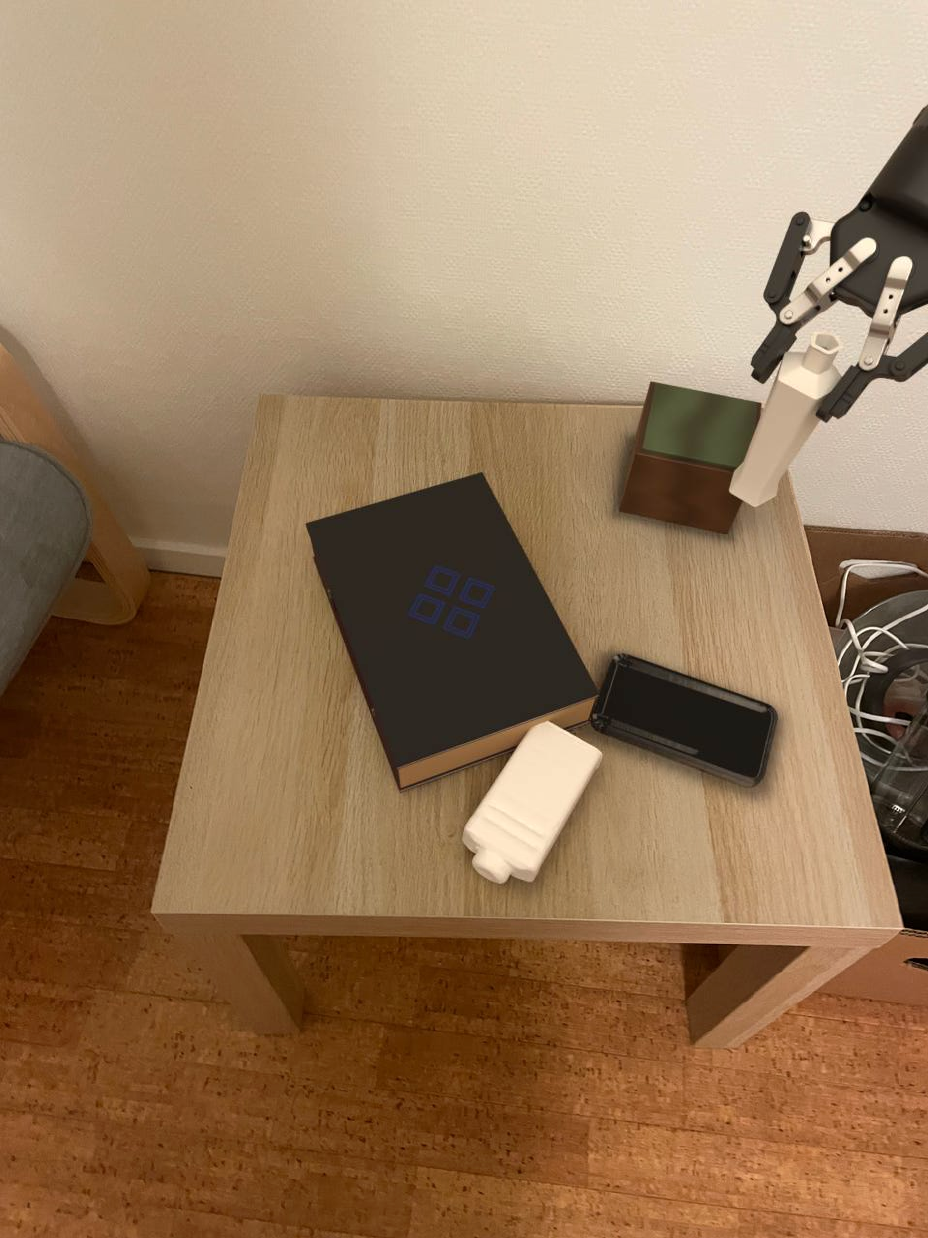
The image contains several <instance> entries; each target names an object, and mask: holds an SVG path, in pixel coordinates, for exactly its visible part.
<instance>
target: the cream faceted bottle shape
mask: <svg viewBox="0 0 928 1238" xmlns="http://www.w3.org/2000/svg"><path fill="white" fill-rule="evenodd" d="M843 348H844V345H843V342H842V340H841V339H840V338H839V337H838V335H837V334H836V332H832V331H818V330H817V331H813V332H812V335H811V339H810V342H809V345H808V347H807V349H806V351H805V352H799V351H788V352H786V353H785V354H784V356H783V359H782V361H781V362H780V363H779V367H778V369H777V373H776V376H775V377H774V379H773V383H772V385H771V388H770V391H769V393H768V396H767V398H766V401H765V404H764V407H763V408H762V409H763V410H762V411H761V415H760V420H759V422H758V425H757V428H756V430H755V433H754V436H753V438H752V441H751V444H750V446H749V449H748V452H747V454H746V457H745V459H744V462H743V463H742V464H741V465H740V466H739V467H738V468H737V469H736V470H735V471H734V474H733V477H732V481H731V484H730V488H729V492H730V493H731V494H733V495H735V496H736V497H738V498H740V499H742V500H743V502H745V503H746V504H748V505H750V506H752V507H754V508H756V507H759V506H760V505H761V506H762V505H763V504H764V503H766V502H768V501H769V500H771V499H773V498H775V497H776V496H778V492H779V491H778V490H779V483H780V480H781V479H782V477H783V476H784V474H785V473H786V471H787V470H788V468H789V467H790V466H791V464H792V462H793V461H794V460H795V458H796V457H797V455H798V454H799V452H800V451H801V450H802V448H803V447H804V445H805V444H806V442H807V441H808V439H809V438H810V437H811V435H812V433H814V430H816V427H817V426H818V424H819V423H820V422H821V420H820V419H819V418H817V417H816V416H815V414H816V412H817V410H818V409H819V407H820V406H821V405H822V403H823V402H824V400H825V399H826V398H827V396H828V395H829V394H830V392H831V391H832V390H833V388H834V387H835V386H836V384H837V383H838V382H839V380H840V379H841V378H842V376H843V375H842V374H841V373H840V372H839V370H838V369H837V367H836V365H835V364H834V360H835V359H836V357H837V355H838V353H839V351H841V350H842V349H843Z"/></svg>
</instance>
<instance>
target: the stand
mask: <svg viewBox="0 0 928 1238" xmlns="http://www.w3.org/2000/svg"><path fill="white" fill-rule="evenodd" d="M762 405H763V403H762V402H759V401H755V400H749V399H744V398H739V397H733V396H728V395H724V394H719V393H713V392H708V391H704V390H698V389H693V388H687V387H683V386H678V385H672V384H667V383H662V382H657V381H652V380H651V381H650V382H649V384H648V387H647V392H646V396H645V399H644V403H643V406H642V411H641V414H640V418H639V421H638V424H637V429H636V432H635V436H634V439H633V444H632V449H631V454H630V457H629V463H628V467H627V473H626V477H625V480H624V481H625V482H624V486H623V491H622V496H621V500H620V504H619V512H621V513H626V514H631V515H635V516H640V517H645V518H650V519H654V520H658V521H664V522H668V523H673V524H677V525H682V526H687V527H691V528H695V529H700V530H705V531H709V532H715V533H719V534H724V535H728V534H729V532H730V530H731V527H732V525H733V523H734V521H735V519H736V516H737V514H738V512H739V510H740V508H741V506H742V503H743V502H744V501H743V500H742V499H740V498H738V497H736V496H735V495H733V494H731V493H730V492H729V488H730V484H731V481H732V477H733V474H734V471H735V470H736V469H737V468H738V467H739V466H740V465H741V464H742V463H743V462H744V459H745V457H746V454H747V452H748V449H749V446H750V444H751V441H752V438H753V436H754V433H755V430H756V428H757V425H758V422H759V420H760V417H761V414H762V407H763V406H762Z"/></svg>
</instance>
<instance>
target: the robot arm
mask: <svg viewBox="0 0 928 1238" xmlns="http://www.w3.org/2000/svg"><path fill="white" fill-rule="evenodd" d="M911 124H912V125H911V126H910V128H909V130H908V131H907V132H906V134H905V135H904V136H903V138H902V139H901V141H900V143H899V144H898V145H897V147H896V148H895V150H894V151H893V152H892V154H891V155H890V157H889V158H888V160H887V161H886V163H885V164H884V166H883V167H882V168H881V170H880V171H879V173H878V174H877V176H876V177H875V178H874V180H873V181H872V183H871V184H870V186H869V187H868V188H867V190H866V191H865V193H863V195H862V197H861V199H860V200H859V202H858V203H857V205H856V206H854V208H852V210H850V211H849V212H847V213H846V214H845V215H843V216H841V217H840V218H838V219H837V220H836V221H835V222H833V221H827V220H823V219H816V218H811V217H810V214H809V213H808V212H806V211H798V212H796V213H795V214H794V215H793V216H792V217H791V219H790V222H789V225H788V227H787V230H786V232H785V235H784V238H783V240H782V243H781V245H780V248H779V251H778V253H777V256H776V258H775V261H774V263H773V267H772V269H771V272H770V274H769V277H768V280H767V282H766V285H765V287H764V290H763V293H762V297H763V300H764V301H765V303H766V304H767V305H768V307H769V309H770V310H771V311H772V312H773V313H774V315H775V323H774V325H773V326H772V328H771V329H770V331H769V333H768V334H767V335H766V337H765V338H764V339H763V341H762V342H761V344H760V345H759V347H758V348H757V349H756V350H755V352H754V354H753V355H752V356H751V360H750V366H751V367H752V368H753V370H752V371H751V374H750V377H751V378H752V379H753V380H755V381H756V382H758V383H760V384H761V385H764V384H766V382H768V380H769V379H770V378H771V376H772V375H773V373H774V372H775V371H776V369H777V368H778V366H780V364H781V361H782V359H783V356H784V354H785V353H786V352H790V349H792V347H793V345H794V344H795V342H797V340H798V337H797V335H796V334H797V333H798V332H799V331H800V330H801V329H803V328H804V327H805V326H806V325H808V324H809V323H810V322H811V321H813V319H815V318H816V317H817V316H818V315H820V314H822V313H824V312H826V311H829V309H831V308H832V307H833V306H835V304H837V303H838V302H841V303H843V304H845V305H847V306H851V307H856V308H859V309H860V310H861V311H862V312H863V313H864V315H865V316H867V317H868V318H870V319H871V321H870V325H869V328H868V333H867V336H866V339H865V342H864V345H863V347H862V350H861V353H860V356H859V358H858V361H857V363H856V364H855V365H853V364H850V366H849V367H847V370H846V371H845V372H844V374H843V375H841V376H842V378H841V379H840V380H839V382H838V383H837V384H836V386H835V387H834V388H833V390H832V391H831V392H830V394H829V395H828V396H827V398H826V399H825V400H824V402H823V403H822V405H821V406H820V407H819V409H818V410H817V412H816V414H815V416H816V417H817V418H819V419H820V421H821V422H824V423H825V424H827V423H829V422H830V420H831V419H832V418H833V417H834V418H835V419H837V420H840V419H841V418H843V417H844V416H846V415H847V414H848V412H849V411H850V410H851V409H852V407H853V406H854V404H855V403H856V402H857V401H858V399H859V398H860V397H861V396H862V394H863V392H864V391H865V390H866V389H867V387H868V386H869V385H870V384H871V383H872V382H873V381H874V380H878V379H885V380H891V381H894V382H896V383H905V382H906V381H908V380H909V379H911V378H912V377H913V376H915V375H916V374H917V373H918V372H919V371H921V370H922V369H923V368H925V367H926V366H927V365H928V331H927V332H926V333H924V334H923V335H922V336H921V337H919V338H918V339H917V340H916V341H914V342H913V343H912V344H911V345H909V346H908V347H907V348H906V349H904V350H903V351H902V352H900V354H899V355H897V356H895V355H889V354H888V351H889V348H890V346H891V344H892V342H893V340H894V338H895V335H896V332H897V329H898V326H899V324H900V321H901V318H902V317H903V316H904V315H905V314H909V313H910V312H912V311H915V310H917V309H920V308H922V307H925V306H926V305H928V103H927V104H926V105H925V106H924V107H922V108H921V110H920V111H919V113H918V114H917V116H916V117H915V118H914V120H913V122H912V123H911ZM827 242H829V267H828V268H827V269H825V270H824V271H823V272H822V273H821V274H819V276H816V277H815V278H814V279H813V280H812V281H811V282H810V283H809V284H808V285H807V286H806V287H805V289H804V291H802V292H801V293H800V294H799V295H798V296H796V297H795V298H794V299H792V300H791V299H790V297H791V295H792V292H793V289H794V287H795V285H796V282H797V279H798V277H799V274H800V271H801V269H802V266H803V264H804V261H805V258H806V256H812V255H814V254H816V252H818V250H819V248H820V247H821V246H822V244H824V243H827Z"/></svg>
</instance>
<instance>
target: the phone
mask: <svg viewBox="0 0 928 1238" xmlns="http://www.w3.org/2000/svg"><path fill="white" fill-rule="evenodd" d="M599 694H600V695H599V697H597V698H596V702H595V705H594V707H593V710H592V712H591V716H590V724H591V726H592V728H593V729H594V730H595V731H597V732H598V733H601V734H603V735H606V736H607V737H611V738H614V739H617V740H618V741H621V742H625V743H627V744H630V745H631V746H635V747H636V748H637V747H638V748H640V749H643V750H645V751H648V752H651V753H654V754H657V755H659V756H661V757H665V758H667V759H670V760H672V761H675V762H678V763H681V764H684V765H686V766H688V767H691V768H694V769H696V770H699V771H702V772H705V773H707V774H710V775H712V776H715V777H718V778H721V779H723V780H726V781H728V782H731V783H734V784H735V785H739V786H742V787H745V788H754V787H756V786H758V785H759V784H760V783H761V781H762V780H763V779H764V778H765V776H766V772H767V767H768V763H769V759H770V754H771V751H772V746H773V742H774V737H775V733H776V729H777V725H778V719H779V715H778V712H777V710H776V709H775V707H773V705H771V704H770V703H768V702H764V701H762V700H759V699H756V698H752V697H751V696H747V695H744V694H742V693H739V692H736V691H733V690H730V689H727V688H725V687H722V686H719V685H716V684H713V683H711V682H708V681H705V680H702V679H699V678H696V677H693V676H691V675H688V674H685V673H682V672H680V671H677V670H674V669H670V668H668V667H666V666H662V665H659V664H658V663H654V662H651V661H649V660H647V659H643V658H640V657H637V656H634V655H632V654H629V653H625V652H621V653H618V654H615V655H614V656H613V657H612V659H611V661H610V664H609V666H608V669H607V672H606V674H605V677H604V680H603V683H602V686H601V688H600V691H599Z"/></svg>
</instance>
